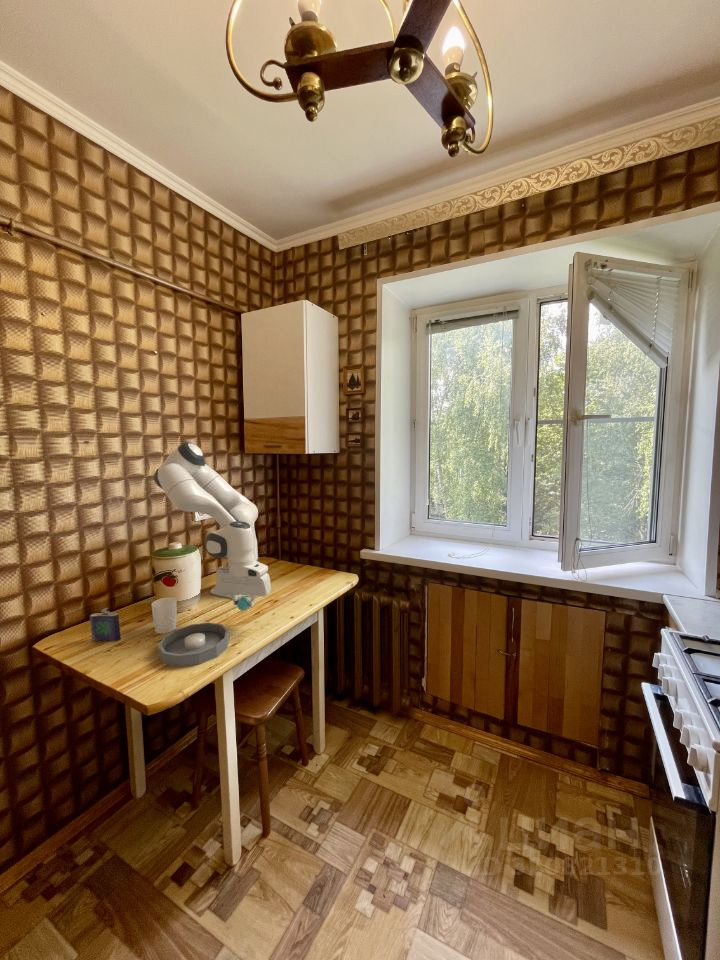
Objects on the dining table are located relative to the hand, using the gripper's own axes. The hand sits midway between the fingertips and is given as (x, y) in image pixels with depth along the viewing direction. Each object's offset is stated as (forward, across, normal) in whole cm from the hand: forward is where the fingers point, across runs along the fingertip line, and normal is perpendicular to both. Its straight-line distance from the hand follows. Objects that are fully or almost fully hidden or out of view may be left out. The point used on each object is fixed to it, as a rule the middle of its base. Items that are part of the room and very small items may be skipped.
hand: (243, 605), depth 136 cm
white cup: (+8, -26, -9) cm, 29 cm away
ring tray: (+7, -7, -17) cm, 20 cm away
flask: (+8, -40, -20) cm, 45 cm away
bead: (0, 0, 0) cm, 0 cm away
